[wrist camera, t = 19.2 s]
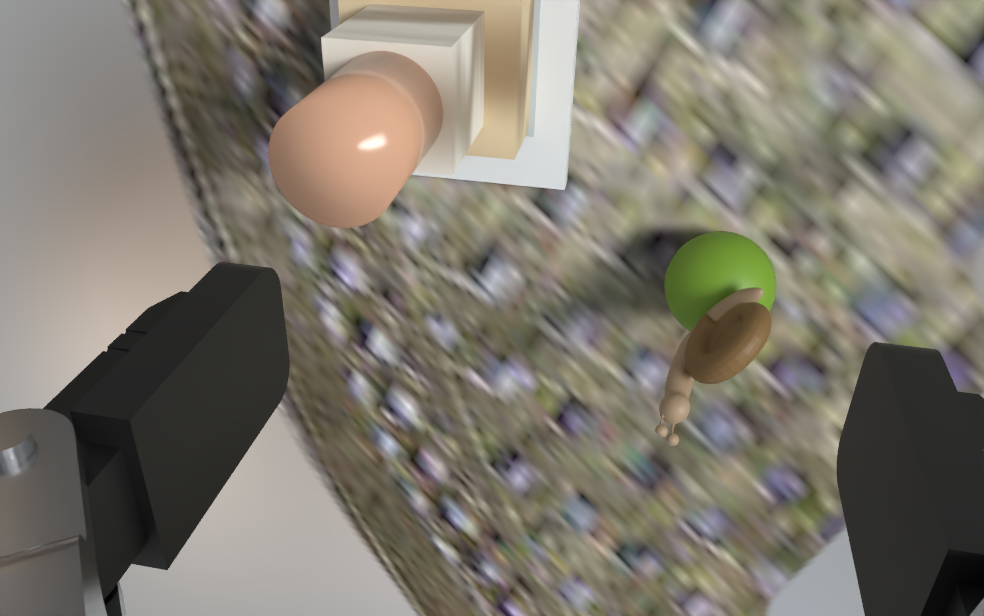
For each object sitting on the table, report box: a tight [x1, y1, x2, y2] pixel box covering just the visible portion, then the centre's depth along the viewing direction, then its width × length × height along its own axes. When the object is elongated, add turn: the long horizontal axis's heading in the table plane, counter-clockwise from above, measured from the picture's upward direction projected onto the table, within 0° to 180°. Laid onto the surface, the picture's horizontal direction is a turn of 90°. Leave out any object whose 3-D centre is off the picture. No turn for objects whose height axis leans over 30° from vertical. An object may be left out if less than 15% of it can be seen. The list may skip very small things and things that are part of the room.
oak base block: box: [338, 0, 534, 160], centre depth 40 cm, size 8×8×4 cm
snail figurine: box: [655, 231, 776, 446], centre depth 41 cm, size 5×6×12 cm
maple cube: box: [321, 4, 485, 175], centre depth 35 cm, size 5×5×6 cm
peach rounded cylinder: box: [268, 51, 443, 228], centre depth 30 cm, size 4×4×6 cm
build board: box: [329, 0, 580, 190], centre depth 42 cm, size 14×12×1 cm
